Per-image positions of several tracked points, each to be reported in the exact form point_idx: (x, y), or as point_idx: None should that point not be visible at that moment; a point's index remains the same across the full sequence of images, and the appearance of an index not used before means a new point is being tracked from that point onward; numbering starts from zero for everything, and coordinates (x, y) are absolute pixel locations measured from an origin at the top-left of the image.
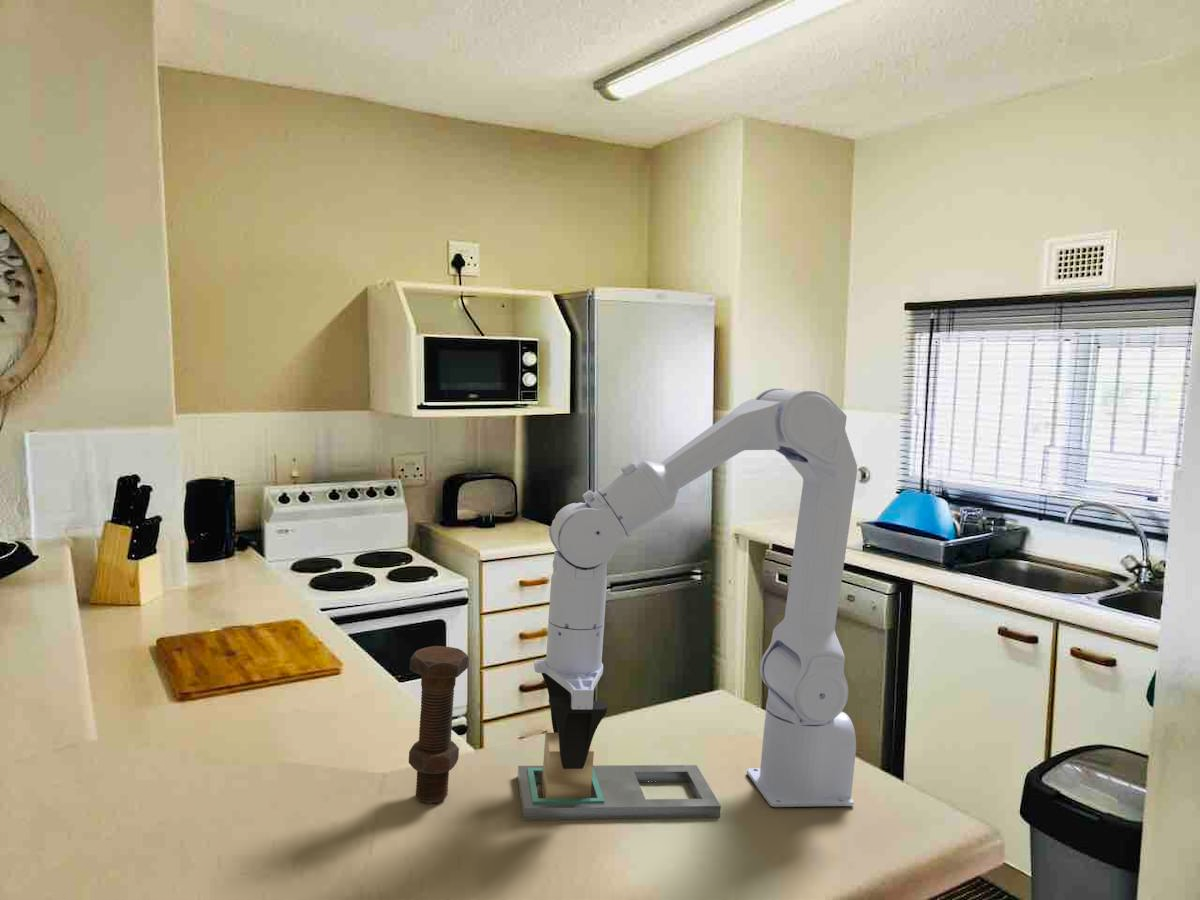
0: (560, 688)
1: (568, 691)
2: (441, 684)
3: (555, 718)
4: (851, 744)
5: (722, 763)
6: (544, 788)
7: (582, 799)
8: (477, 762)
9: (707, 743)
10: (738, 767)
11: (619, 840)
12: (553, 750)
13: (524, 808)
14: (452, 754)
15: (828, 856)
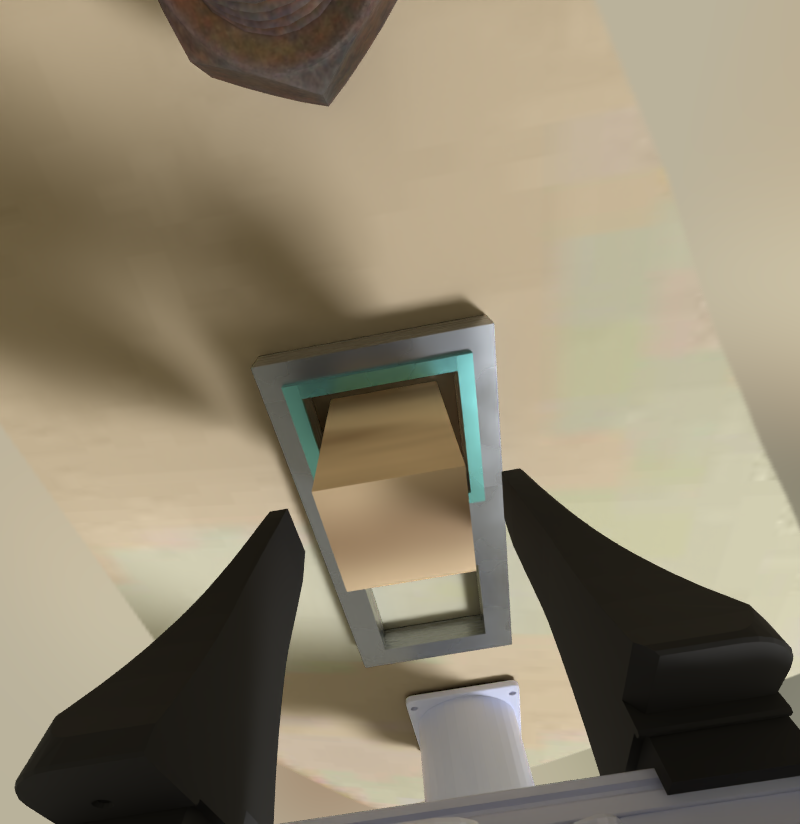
0: (580, 631)
1: (572, 641)
2: None
3: (89, 693)
4: None
5: (552, 653)
6: (378, 402)
7: None
8: (579, 170)
9: None
10: (537, 669)
11: (244, 532)
12: (323, 501)
13: (252, 368)
14: (226, 69)
15: (294, 727)
